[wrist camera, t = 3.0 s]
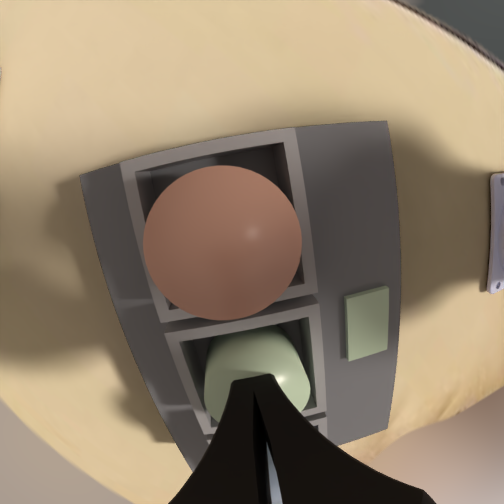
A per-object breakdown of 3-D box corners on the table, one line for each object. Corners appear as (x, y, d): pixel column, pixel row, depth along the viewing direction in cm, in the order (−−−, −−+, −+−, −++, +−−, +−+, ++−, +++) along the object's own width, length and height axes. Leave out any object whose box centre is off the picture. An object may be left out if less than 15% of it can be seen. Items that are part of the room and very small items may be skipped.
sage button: (289, 311, 11) (305, 344, 9) (299, 382, 12) (313, 420, 10) (196, 330, 11) (191, 367, 9) (217, 398, 12) (218, 438, 10)
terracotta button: (271, 157, 9) (288, 152, 6) (289, 272, 10) (310, 304, 7) (151, 181, 9) (126, 185, 6) (178, 294, 10) (166, 331, 7)
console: (360, 127, 13) (414, 114, 8) (372, 404, 17) (400, 450, 13) (103, 173, 12) (53, 177, 8) (194, 443, 17) (191, 497, 12)
